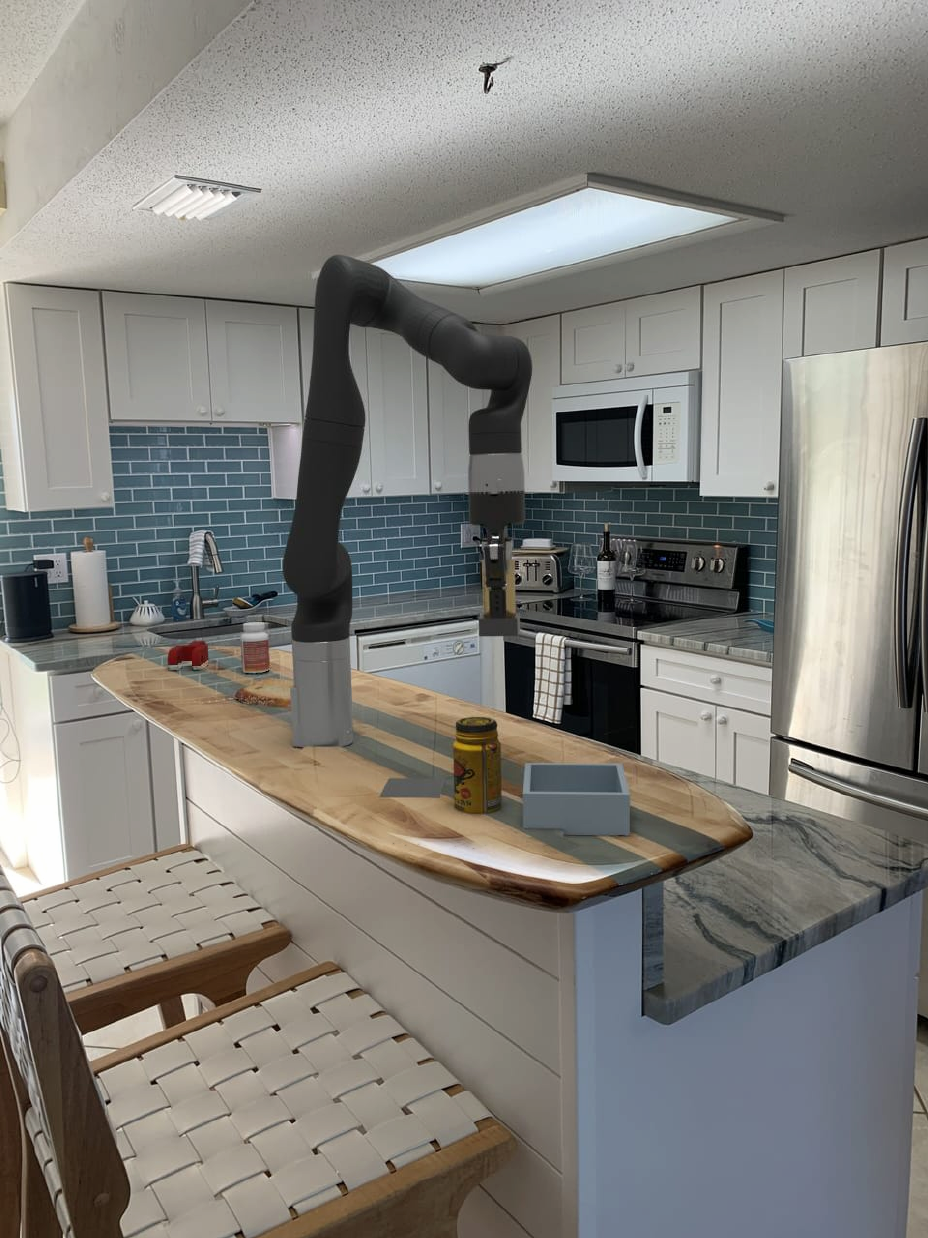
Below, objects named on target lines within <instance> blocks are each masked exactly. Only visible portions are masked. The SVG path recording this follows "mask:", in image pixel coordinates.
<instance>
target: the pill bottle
mask: <svg viewBox="0 0 928 1238" xmlns="http://www.w3.org/2000/svg"><path fill="white" fill-rule="evenodd" d="M265 624H266V623H265V622H264V621H263V622H262V621H252V622H251V621H250V622H245V623H243V624H242V629H243V631H244V632H243V633H242V634H241V635H240V641H239V642H240V659H241V671H244V672H251V673H256V672H265V671H268V670H270V671H271V663H270V662H271V661H270V660H271V659H270V644H269V643H270V641H269V635H268V634H267V632H265V631H264V630H265V629H266V628H265V627H266V625H265Z"/></svg>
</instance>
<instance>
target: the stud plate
mask: <svg viewBox="0 0 928 1238" xmlns="http://www.w3.org/2000/svg"><path fill="white" fill-rule="evenodd" d="M446 780H447V778H423V777H422V778H421V777H420V778H417V777H416V778H414V777H413V778H411V777H410V778H407V777H406V778H405V777H396V778H395V777H392V778H391V777H388V779H387V781H386V783H385V785H384V786H383V789H382V790H381V792H380V794H379V796H378V798H424V799H425V798H430V799H431V798H435V799H436V798H437V799H438V798H441V795H442V791H443V788H444V786H445V783H446Z"/></svg>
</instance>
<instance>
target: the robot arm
mask: <svg viewBox="0 0 928 1238" xmlns="http://www.w3.org/2000/svg"><path fill="white" fill-rule="evenodd" d="M314 294H315V296H314V310H313V311H314V314H313V337H312V338H313V340H312V341H313V344H312V345H313V346H312V359H311V369H310V379H309V388H308V395H307V396H308V397H307V403H306V408H305V413H304V414H305V415H304V422H303V428H302V429H303V430H302V438H301V448H300V457H299V458H300V460H299V466H298V476H297V485H296V499H295V505H294V511H293V514H292V515H293V516H292V520H291V524H290V530H289V533H288V537H287V541H286V545H285V550H284V554H283V559H282V575H283V579H284V582H285V583H286V586H287V587H288V588H289V590H290V591H291V592H292V593H293V594H294V595H296V597H297V598H296V599H297V600H296V602H297V603H296V604H297V605H296V611H295V614H294V616H293V619H292V622H291V624H290V630H291V631H290V632H291V633H290V634H291V636H290V637H291V653H292V654H291V655H292V677H293V680H292V681H293V682H294V686H293V687H291V689H290V699H291V708H290V716H291V717H290V719H291V722H290V723H291V736H292V737H291V739H292V740H291V744H292V747H299V748H303V749H304V748H305V747H308V748H309V747H311V748H312V747H313V748H314V747H321V748H322V747H323V748H326V747H328V748H329V747H330V748H332V747H335V748H338V747H340V748H341V747H346V746H348V745H350V744H352V743H353V742H354V726H353V725H354V723H353V696H352V695H353V694H352V693H353V691H352V672H351V671H352V667H351V666H352V665H351V641H350V638H351V637H350V636H351V634H350V627H351V621H352V617H353V567H352V560H351V557H350V553H349V551H348V549H346V547H345V546H344V545H343V544H342V543H341V542H340V541H339V534H340V525H341V524H340V523H341V517H342V512H343V509H344V504H345V501H346V499H347V497H348V494H349V491H350V489H351V486H352V484H353V481H354V478H355V475H356V473H357V471H358V466H359V464H360V460H361V455H362V451H363V441H364V437H365V436H364V435H365V428H366V410H365V409H366V408H365V405H364V401H363V398H362V395H361V391H360V388H359V387H358V383H357V380H356V378H355V375H354V372H353V369H352V366H351V365H352V364H351V360H350V351H349V350H350V349H349V346H350V345H349V343H350V330H351V329H350V328H351V325H353V326H357V327H361V328H372V329H377V330H384V331H387V332H391V333H394V334H396V335H398V336H399V337H400V336H401V337H402V338H403V339H404V341H405V342H406V344H407V345H408V346H409V347H410V348H411V349H413V350H414V351H415V352H417V353H418V354H420V355H421V356H423V357H425V358H427V359H428V360H431V361H432V362H434V363H435V364H438V365H440V366H442V367H443V369H444V370H445V371H446V372H447V373H448V374H449V375H450V376H451V377H452V378H453V379H454V380H455V381H457V383H459V384H461V385H463V386H465V387H469V388H471V389H473V390H474V389H476V390H487V391H488V390H489V391H491V392H490V396H489V399H488V400H489V401H488V404H487V406H486V407H484V408H480V409H477V410H475V411H474V412H472V413H471V414H470V415H469V419H468V467H467V485H468V487H467V489H468V490H467V491H468V494H467V495H468V522H469V524H470V525H472V526H476V527H477V526H482V527H486V529H487V530H486V537H485V538H483V539H481V550H482V552H483V560H484V571H485V573H486V581H485V585H486V587H487V588H488V591H489V610H490V617H491V618H492V619H503V618H505V617H506V588H507V584H506V575H507V574H508V573H509V572H510V559H513V549H514V538H513V537H509V534H508V526H513V525H515V526H516V525H522V524H524V523H525V521H526V501H525V500H526V498H525V496H526V495H525V494H526V492H525V468H524V461H523V454H522V450H523V448H522V445H523V444H522V421H523V420H522V419H523V416H524V412H525V408H526V404H527V398H528V394H529V390H530V386H531V382H532V376H533V360H532V356H531V353H530V350H529V348H528V346H527V345H526V343H525V342H524V341H523V340H522V339H520V338H518V337H515V336H510V335H500V334H492V333H490V334H489V333H483V332H480V331H478V329H477V328H476V326H475V325H474V323H472V322H471V321H470V320H469V319H467V318H465V317H463V316H462V315H459V314H457V313H455V312H453V311H451V310H449V309H446V308H444V307H443V306H440V305H438V304H435V303H433V302H431V301H428V300H426V299H425V298H424V299H423V298H421V297H420V296H418V295H416V294H415V293H413V292H412V291H411V290H409V289H408V288H407V287H405V286H404V285H403V284H402V283H401V282H400V281H398V280H397V279H396V278H395V277H394V276H393V275H392V274H390V273H389V272H388V271H386V270H385V269H383V268H382V267H381V266H378V265H376V264H373V263H370V262H366V261H363V260H360V259H356V258H354V257H351V256H346V255H344V254H333V255H331V256H330V257H328V259H326V260H325V262H324V263H323V265H322V267H321V269H320V272H319V274H318V277H317V281H316V288H315V293H314ZM505 561H506V564H505V565H504V562H505ZM493 573H501V578H492V574H493Z"/></svg>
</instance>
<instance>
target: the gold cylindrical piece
mask: <svg viewBox="0 0 928 1238" xmlns="http://www.w3.org/2000/svg"><path fill="white" fill-rule="evenodd" d="M505 564H506V561H505V562H504V565H505ZM515 566H516V565H515V559H514V558H512V559H510V572H509V573H508V574H507V575H506V584H507V588H506V617H505V618H503V619H492V618H491V617H490V610H489V591H488V588H487V587H486V585H485V581H486V573H485V571H484V559H481V571H482V572H481V573H482V574H481V575H482V609H483V610H482V611H483V612H482V613H481V615H480V616H479V618H478V637H519V634H520V631H521V616H520V615H521V613H520V612H516V611H517V609H516V570H515ZM492 578H501V573H493V574H492Z"/></svg>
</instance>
